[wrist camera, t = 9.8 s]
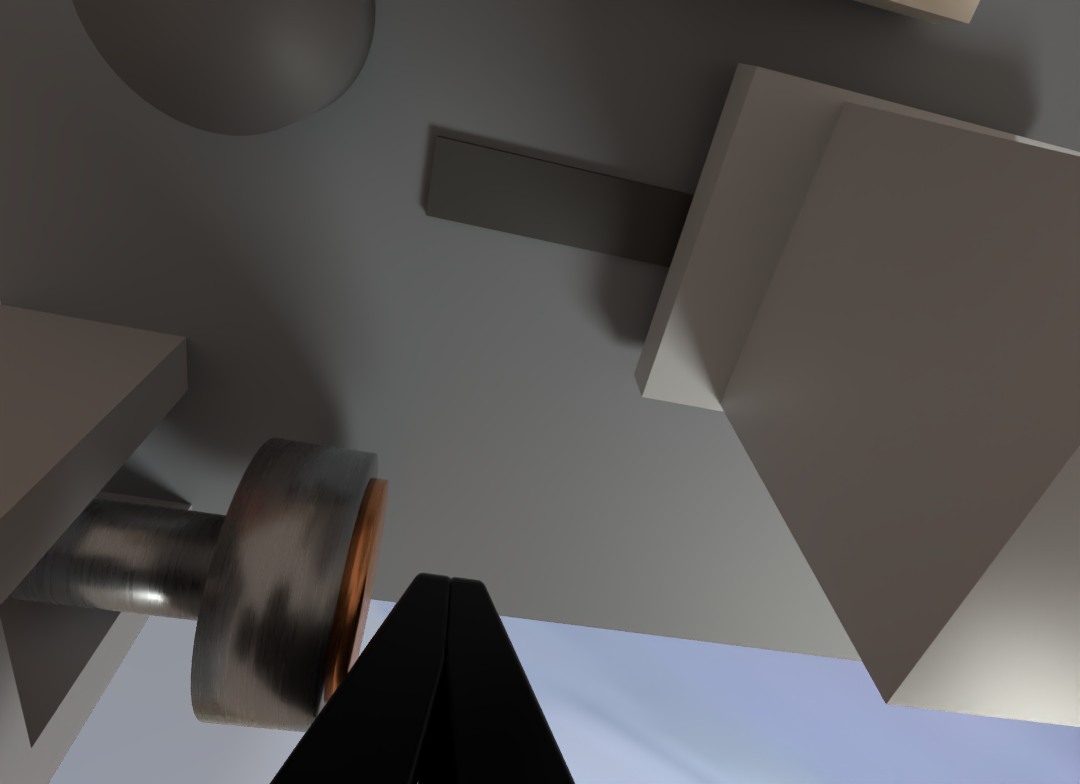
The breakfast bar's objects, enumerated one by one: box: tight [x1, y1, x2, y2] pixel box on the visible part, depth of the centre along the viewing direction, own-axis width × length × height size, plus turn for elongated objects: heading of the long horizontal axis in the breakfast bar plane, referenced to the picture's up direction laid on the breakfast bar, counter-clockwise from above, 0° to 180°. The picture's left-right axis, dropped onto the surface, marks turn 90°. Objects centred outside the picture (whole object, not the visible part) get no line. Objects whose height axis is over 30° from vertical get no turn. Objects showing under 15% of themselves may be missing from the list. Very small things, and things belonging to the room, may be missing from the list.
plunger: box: [7, 438, 389, 732], centre depth 8 cm, size 6×3×3 cm, turn 77°
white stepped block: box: [634, 63, 1080, 727], centre depth 6 cm, size 4×4×5 cm
